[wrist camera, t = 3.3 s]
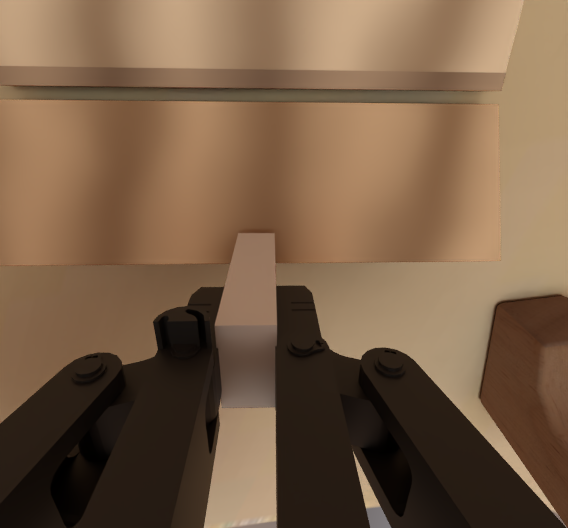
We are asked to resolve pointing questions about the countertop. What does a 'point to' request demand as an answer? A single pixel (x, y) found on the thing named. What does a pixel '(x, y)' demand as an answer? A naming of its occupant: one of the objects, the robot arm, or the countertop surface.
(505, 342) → the wooden block
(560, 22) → the countertop surface
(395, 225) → the board
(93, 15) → the laid board
